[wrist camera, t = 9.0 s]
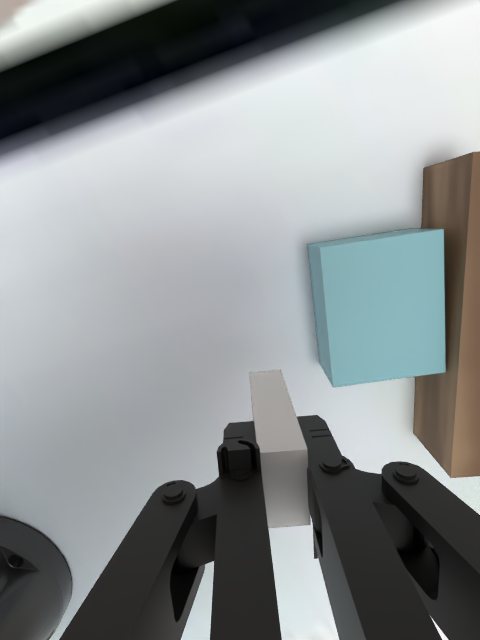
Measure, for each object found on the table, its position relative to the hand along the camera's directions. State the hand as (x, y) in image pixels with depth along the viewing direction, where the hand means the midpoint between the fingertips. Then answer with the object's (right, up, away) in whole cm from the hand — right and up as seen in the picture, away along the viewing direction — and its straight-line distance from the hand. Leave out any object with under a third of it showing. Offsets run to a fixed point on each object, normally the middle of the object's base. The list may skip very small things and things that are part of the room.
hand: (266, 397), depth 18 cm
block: (+9, +5, +12) cm, 16 cm away
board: (+14, +4, +12) cm, 19 cm away
